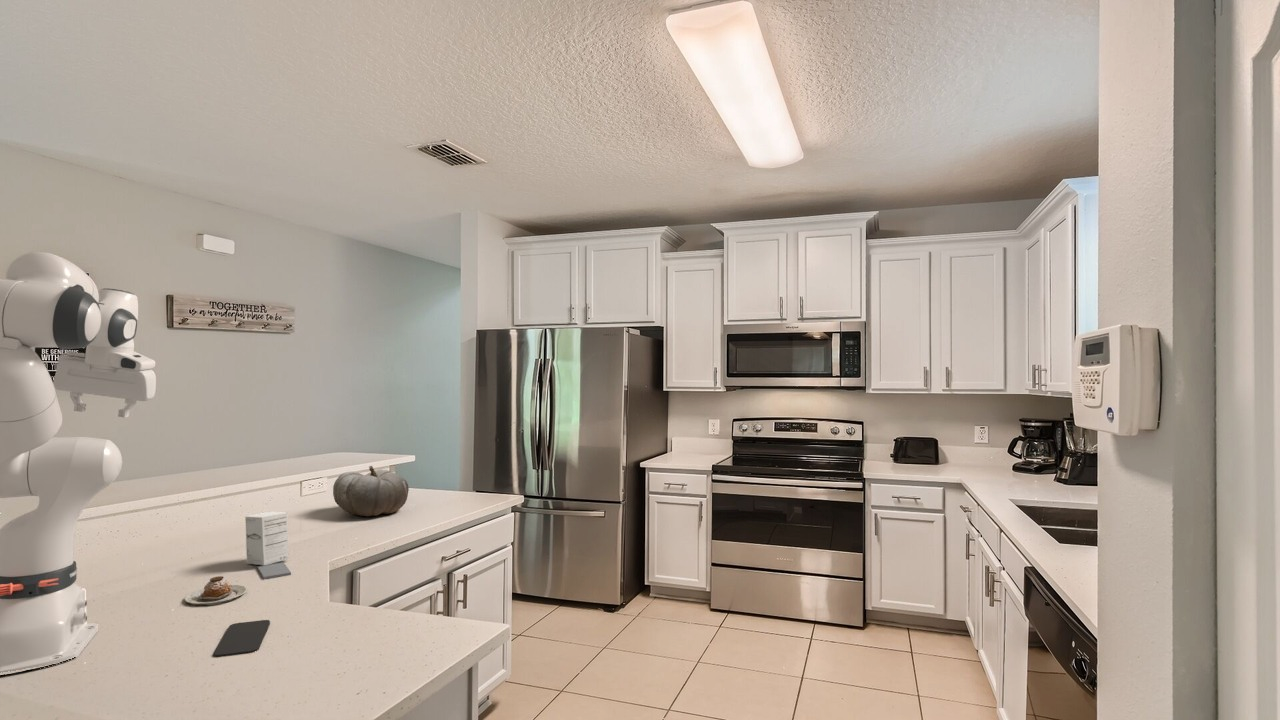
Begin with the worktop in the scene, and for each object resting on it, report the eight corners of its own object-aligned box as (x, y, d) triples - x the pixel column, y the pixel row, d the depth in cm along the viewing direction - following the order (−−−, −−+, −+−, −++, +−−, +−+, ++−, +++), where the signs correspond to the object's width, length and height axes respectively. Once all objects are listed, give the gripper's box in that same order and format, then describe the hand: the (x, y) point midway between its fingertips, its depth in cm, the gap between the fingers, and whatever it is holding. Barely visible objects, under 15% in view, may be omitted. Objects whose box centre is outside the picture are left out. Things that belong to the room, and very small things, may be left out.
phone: (211, 655, 121) (230, 623, 135) (211, 660, 121) (230, 627, 135) (258, 649, 123) (271, 619, 137) (257, 654, 123) (271, 623, 137)
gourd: (312, 510, 224) (323, 459, 226) (362, 507, 248) (372, 460, 250) (372, 524, 217) (383, 471, 219) (418, 519, 240) (428, 472, 242)
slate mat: (290, 574, 166) (290, 572, 166) (263, 579, 163) (263, 576, 163) (283, 564, 174) (283, 562, 174) (257, 568, 171) (257, 566, 171)
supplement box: (245, 564, 174) (244, 516, 175) (272, 557, 181) (270, 510, 181) (263, 566, 171) (261, 517, 171) (290, 558, 177) (288, 511, 178)
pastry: (259, 592, 155) (259, 573, 155) (213, 611, 143) (213, 589, 143) (218, 587, 158) (219, 568, 158) (171, 604, 147) (171, 584, 147)
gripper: (50, 350, 152) (42, 409, 153) (148, 364, 156) (140, 422, 156) (69, 349, 158) (61, 405, 159) (163, 362, 162) (155, 418, 162)
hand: (101, 414), depth 158 cm, fingers open, 8 cm apart
